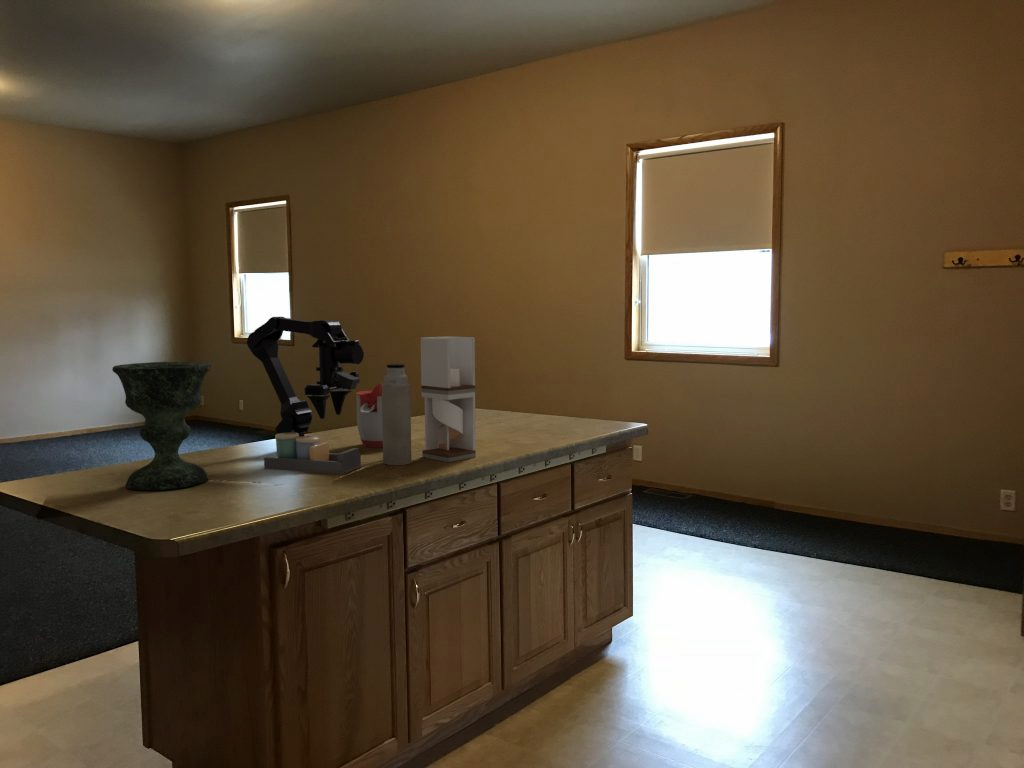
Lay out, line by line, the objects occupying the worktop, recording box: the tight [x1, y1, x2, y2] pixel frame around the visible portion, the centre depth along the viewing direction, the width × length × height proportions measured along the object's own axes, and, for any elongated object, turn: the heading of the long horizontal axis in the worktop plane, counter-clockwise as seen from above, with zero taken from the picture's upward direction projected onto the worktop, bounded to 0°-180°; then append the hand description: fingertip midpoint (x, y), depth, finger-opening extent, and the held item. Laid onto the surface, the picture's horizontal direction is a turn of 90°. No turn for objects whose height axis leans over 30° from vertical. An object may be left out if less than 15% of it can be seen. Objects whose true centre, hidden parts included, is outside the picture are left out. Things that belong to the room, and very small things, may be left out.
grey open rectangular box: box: [263, 447, 362, 477], centre depth 223 cm, size 23×11×6 cm, turn 73°
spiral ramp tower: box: [420, 336, 477, 463], centre depth 240 cm, size 11×11×35 cm
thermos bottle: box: [382, 363, 412, 466], centre depth 232 cm, size 8×8×28 cm
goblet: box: [112, 361, 212, 491], centre depth 206 cm, size 22×22×30 cm
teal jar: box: [274, 432, 299, 459], centre depth 225 cm, size 6×6×8 cm
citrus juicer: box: [355, 382, 383, 448], centre depth 261 cm, size 16×17×20 cm
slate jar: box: [296, 435, 320, 460], centre depth 224 cm, size 6×6×8 cm
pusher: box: [310, 442, 330, 461], centre depth 223 cm, size 1×8×6 cm, turn 163°
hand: (330, 416), depth 241 cm, fingers open, 9 cm apart
